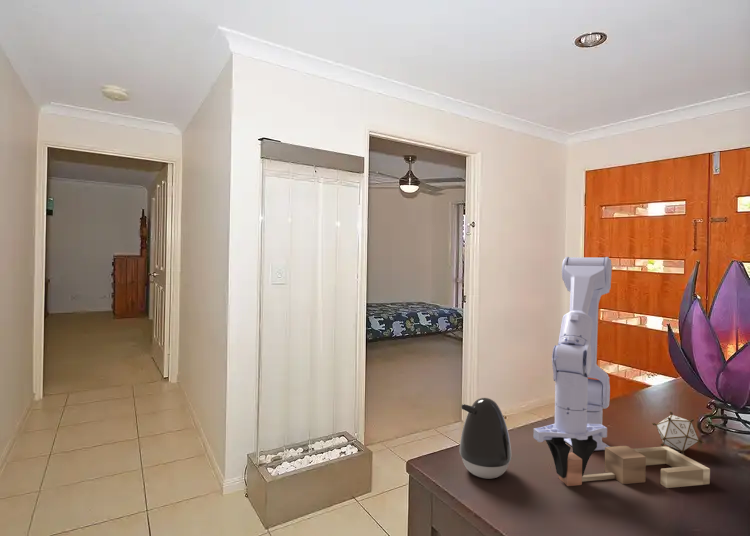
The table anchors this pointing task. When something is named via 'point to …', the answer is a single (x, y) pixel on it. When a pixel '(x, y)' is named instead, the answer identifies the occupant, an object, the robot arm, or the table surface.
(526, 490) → the table surface
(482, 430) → the pump dispenser
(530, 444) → the table surface
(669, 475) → the wooden u-channel piece
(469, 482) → the table surface
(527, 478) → the table surface
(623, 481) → the tethered block
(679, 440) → the game die
